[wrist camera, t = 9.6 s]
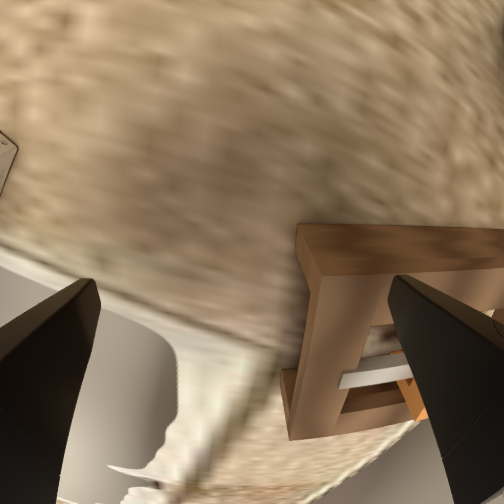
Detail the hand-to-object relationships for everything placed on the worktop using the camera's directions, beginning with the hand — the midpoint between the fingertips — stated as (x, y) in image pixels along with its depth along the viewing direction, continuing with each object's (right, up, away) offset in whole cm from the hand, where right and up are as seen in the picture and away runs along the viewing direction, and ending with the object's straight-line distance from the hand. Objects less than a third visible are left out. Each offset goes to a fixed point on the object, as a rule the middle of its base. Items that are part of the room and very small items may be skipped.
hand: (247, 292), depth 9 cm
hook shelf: (+13, -4, +17) cm, 21 cm away
